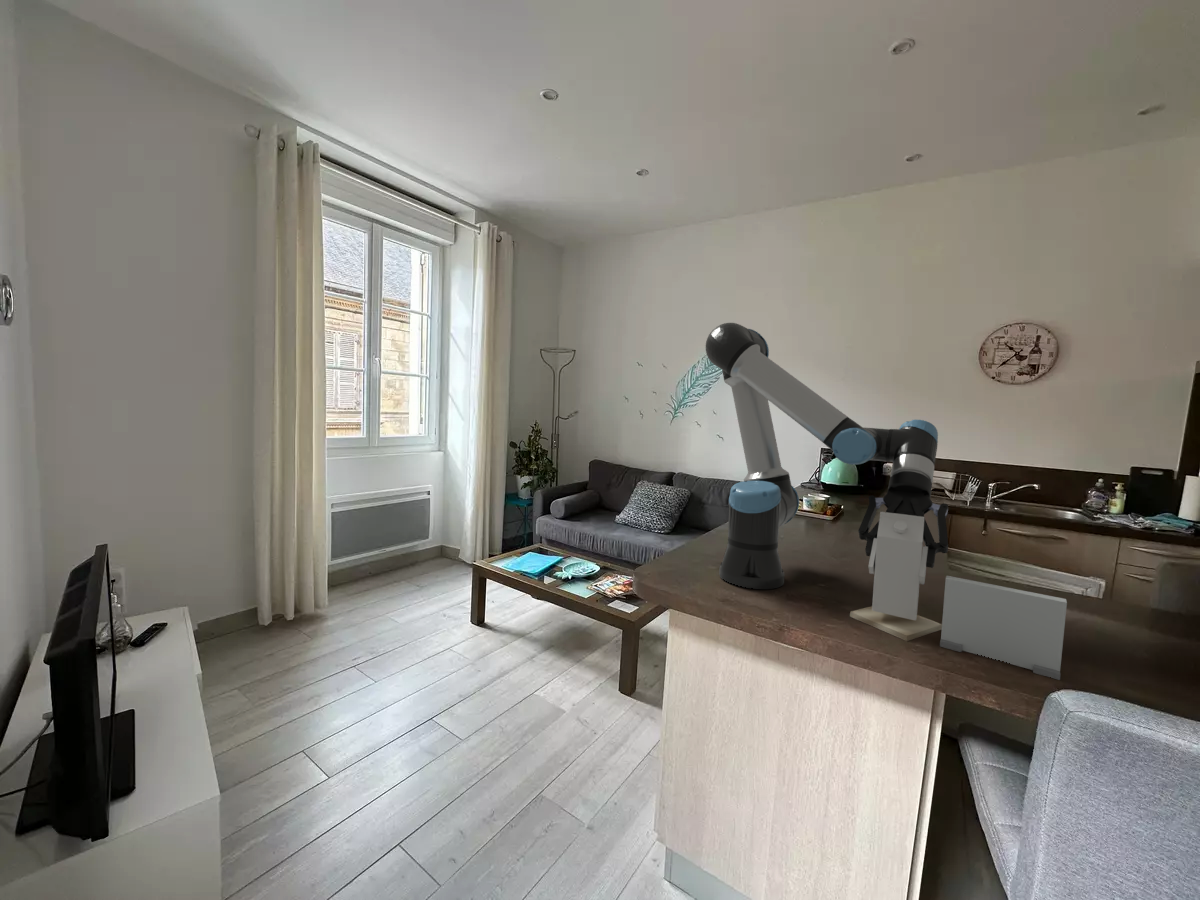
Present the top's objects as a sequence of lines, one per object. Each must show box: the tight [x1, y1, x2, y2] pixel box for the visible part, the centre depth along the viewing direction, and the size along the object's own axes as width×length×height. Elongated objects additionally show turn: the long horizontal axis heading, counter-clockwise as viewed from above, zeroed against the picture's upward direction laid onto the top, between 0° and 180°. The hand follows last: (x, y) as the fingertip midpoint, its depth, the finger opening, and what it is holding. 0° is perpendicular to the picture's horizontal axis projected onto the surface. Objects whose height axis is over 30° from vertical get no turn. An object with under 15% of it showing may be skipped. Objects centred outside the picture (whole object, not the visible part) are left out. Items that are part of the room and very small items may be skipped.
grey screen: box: [939, 575, 1068, 681], centre depth 77 cm, size 15×4×12 cm, turn 48°
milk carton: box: [871, 511, 926, 620], centre depth 89 cm, size 7×7×19 cm
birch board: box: [849, 605, 942, 642], centre depth 90 cm, size 11×11×1 cm
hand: (895, 575), depth 87 cm, fingers closed on milk carton, 7 cm apart
